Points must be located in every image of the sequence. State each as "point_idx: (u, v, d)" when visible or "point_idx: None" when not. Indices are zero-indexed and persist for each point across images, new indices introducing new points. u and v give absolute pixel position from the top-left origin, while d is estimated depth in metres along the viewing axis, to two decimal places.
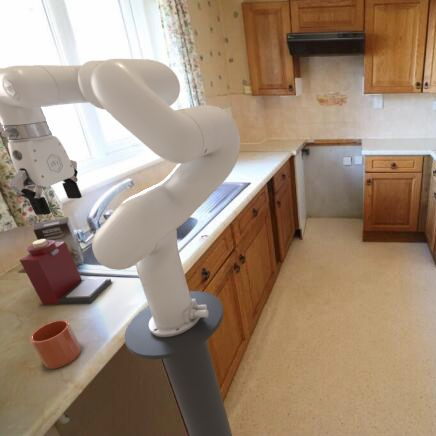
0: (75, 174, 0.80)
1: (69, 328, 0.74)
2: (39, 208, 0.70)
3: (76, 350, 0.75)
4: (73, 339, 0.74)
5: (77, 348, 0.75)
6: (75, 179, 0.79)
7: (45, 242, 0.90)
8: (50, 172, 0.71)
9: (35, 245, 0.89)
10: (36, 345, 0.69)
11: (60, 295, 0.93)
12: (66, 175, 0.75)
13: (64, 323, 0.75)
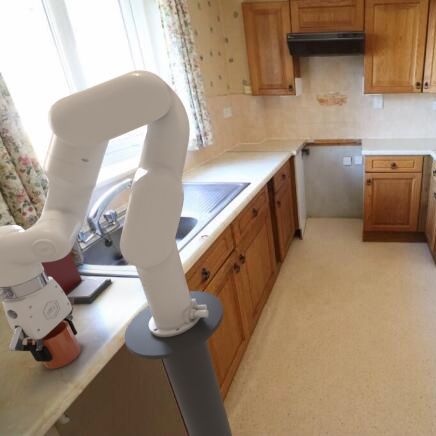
0: (70, 311, 0.77)
1: (69, 328, 0.74)
2: (41, 358, 0.69)
3: (76, 350, 0.75)
4: (73, 339, 0.74)
5: (77, 348, 0.75)
6: (70, 317, 0.76)
7: None
8: (46, 321, 0.68)
9: None
10: None
11: None
12: (63, 316, 0.72)
13: (64, 323, 0.75)
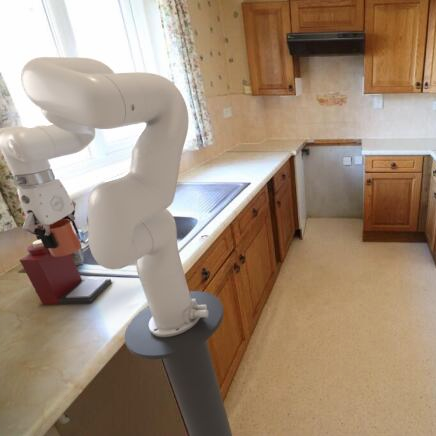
0: (73, 213, 0.90)
1: (71, 224, 0.87)
2: (49, 243, 0.82)
3: (77, 244, 0.88)
4: (75, 234, 0.88)
5: (78, 243, 0.89)
6: (73, 218, 0.90)
7: None
8: (53, 212, 0.82)
9: (35, 245, 0.89)
10: None
11: (60, 295, 0.93)
12: (67, 212, 0.86)
13: (67, 221, 0.88)
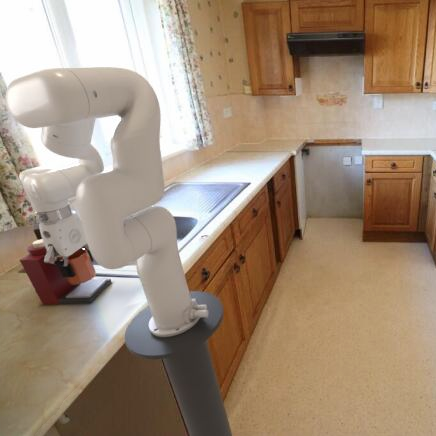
0: None
1: (87, 254, 0.93)
2: (67, 273, 0.89)
3: (92, 272, 0.95)
4: (90, 263, 0.94)
5: (93, 271, 0.95)
6: (88, 247, 0.96)
7: None
8: (71, 244, 0.88)
9: (35, 245, 0.89)
10: None
11: (60, 295, 0.93)
12: (83, 243, 0.92)
13: (83, 251, 0.95)
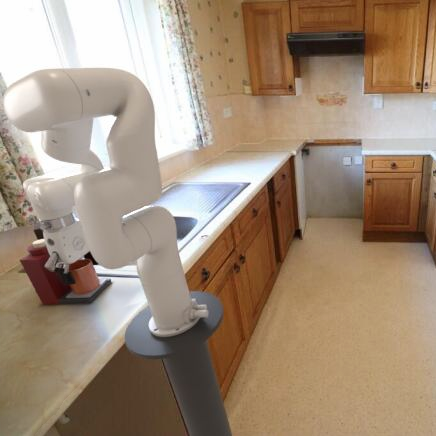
0: None
1: (91, 264, 0.95)
2: (67, 280, 0.88)
3: (97, 282, 0.96)
4: (94, 273, 0.96)
5: (97, 280, 0.97)
6: None
7: None
8: (75, 251, 0.89)
9: (35, 245, 0.89)
10: None
11: (60, 295, 0.93)
12: (87, 250, 0.93)
13: (87, 261, 0.96)
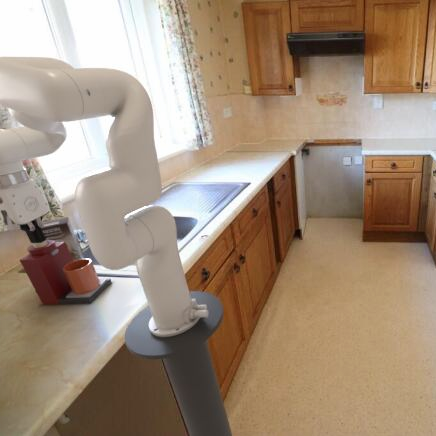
0: None
1: (91, 264, 0.95)
2: (34, 238, 0.88)
3: (97, 282, 0.96)
4: (94, 273, 0.96)
5: (97, 280, 0.97)
6: (40, 224, 0.89)
7: (45, 242, 0.90)
8: (27, 212, 0.84)
9: (35, 245, 0.89)
10: (67, 274, 0.91)
11: (60, 295, 0.93)
12: (42, 212, 0.88)
13: (87, 261, 0.96)
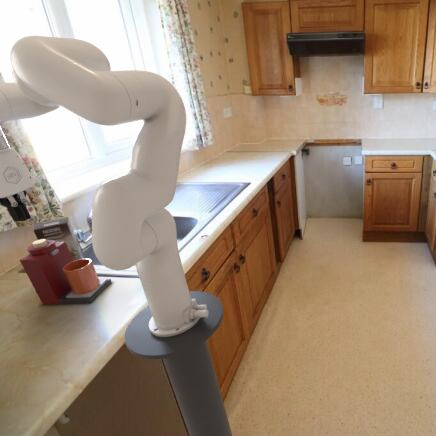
0: None
1: (91, 264, 0.95)
2: (17, 216, 0.78)
3: (97, 282, 0.96)
4: (94, 273, 0.96)
5: (97, 280, 0.97)
6: (23, 200, 0.79)
7: (45, 242, 0.90)
8: (7, 184, 0.74)
9: (35, 245, 0.89)
10: (67, 274, 0.91)
11: (60, 295, 0.93)
12: (25, 186, 0.78)
13: (87, 261, 0.96)
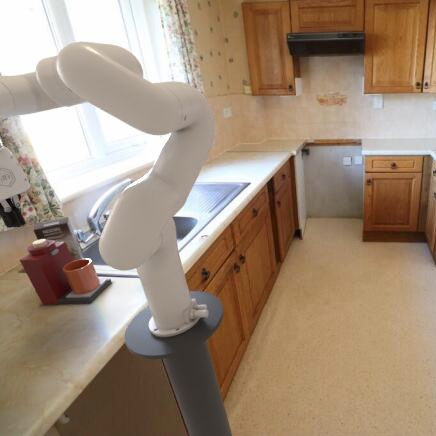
0: None
1: (91, 264, 0.95)
2: (10, 221, 0.71)
3: (97, 282, 0.96)
4: (94, 273, 0.96)
5: (97, 280, 0.97)
6: (17, 204, 0.72)
7: (45, 242, 0.90)
8: (0, 187, 0.67)
9: (35, 245, 0.89)
10: (67, 274, 0.91)
11: (60, 295, 0.93)
12: (19, 189, 0.71)
13: (87, 261, 0.96)
